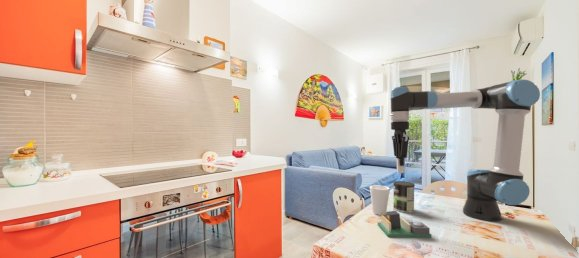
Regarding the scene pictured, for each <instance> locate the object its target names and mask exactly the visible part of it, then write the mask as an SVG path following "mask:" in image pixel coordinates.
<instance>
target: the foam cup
mask: <svg viewBox="0 0 579 258" xmlns="http://www.w3.org/2000/svg"><path fill="white" fill-rule="evenodd" d="M390 191H391V189H390V187H388V186H386V185H385V186H384V185H377V184H376V185H374V184H373V185H370V186H369V192H370V198H371V208H372V213H373V214H374V215H377V214H378V215H379V216H381V215H383V216H386V215H387V214H386V212H388V204H389V196H390Z"/></svg>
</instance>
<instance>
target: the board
mask: <svg viewBox="0 0 579 258" xmlns="http://www.w3.org/2000/svg"><path fill="white" fill-rule="evenodd" d="M380 220H381V221H380V222H378V221H377V226H378V227H379V228H380V230H381V231H382V233H384V234H385V235H386V236H387V238H432V234H431V231H430V230H431V229H430V227H428V226H427V225H426V224H425V223H423V222H421V221H420V222H416V221H415V222H413V221H411V222H410V221H409V222H408V221H407V220H405V219H404V218H403V217H402V216H400V224H401V229H391V223H390V222H389V221H388V220H387V217H386V216H385V215H380Z"/></svg>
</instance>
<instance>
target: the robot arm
mask: <svg viewBox="0 0 579 258" xmlns="http://www.w3.org/2000/svg"><path fill="white" fill-rule="evenodd" d="M540 97H541V92H540V88H539V87H538V86H537V85H536V84H535V83H534V82H533V81H532V80H528V79H513V80H511V81H508V82H504V83H500V84H495V85H491V86H488V87H484V88H475V89H474V88H473V89H472V90H471V91H461V92H460V91H459V92H445V93H444V92H443V93H437V92H436V91H430V90H427V91H426V90H425V91H410V89H409V87H407V86H397V87H393V88H391V91H390V114H389V116H390V120H391V123H390V129H391V130H392V131H393V130H394V132H393V133H394V134H393V135H392V136H391V140H392V147H393V155H394V157H395V158H396V173H397V174H405V158H406V159H407V157H408V148H409V141H410V136H407V131H408V130H410V121H409V120H410V111H417V110H419V111H420V110H435V109H436V110H437V109H438V110H439V109H452V108H453V109H455V108H456V109H457V108H472V109H489V110H492V109H493V110H494V111H495V113H497V114H498V123H497V132H496V141H495V150H494V151H495V152H494V157H493V158H494V159H493V160H494V161H493V166H492V167H491V168H490V169H489V168H488V169H474V168H473V169H469V170H468V171H467V174H466V180H467V182H466V183H467V184H466V185H467V187H466V190H467V191H466V193H467V195H466V196H467V197H466V200H465V203H464V205H463V207H462V213H463V215H465V216H468V217H470V218H473V219H477V220H483V221H488V222H489V221H491V222H499V221H501V220H502V212H501V209H500V208H499V205H498V203H501V204H505V205H509V206H517V205H521V204H522V203H523V202H525V201H526V200H527V199H528V198H529V195H530V193H531V192H530V187H529V185H528V183H526V182H525V181H524V174H523V173H522V172H521V171H520V166H521V157H522V147H523V146H522V145H523V137H524V136H523V135H524V127H525V117H526V115H527V114H529V113H531V108H532V106H533V105H535V104H536V103H537V102H538V101H539V100H540ZM406 130H407V131H406Z"/></svg>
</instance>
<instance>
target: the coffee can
mask: <svg viewBox="0 0 579 258" xmlns="http://www.w3.org/2000/svg"><path fill="white" fill-rule="evenodd" d="M392 183H393V207H392V208H393V210H394V211H396V212H401V213H407V214H408V213H413V212H415V186H416V185H415V183H413V182H412V181H411V182H410V181H404V180H403V181H401V180H398V181H397V180H396V181H393V182H392Z"/></svg>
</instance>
